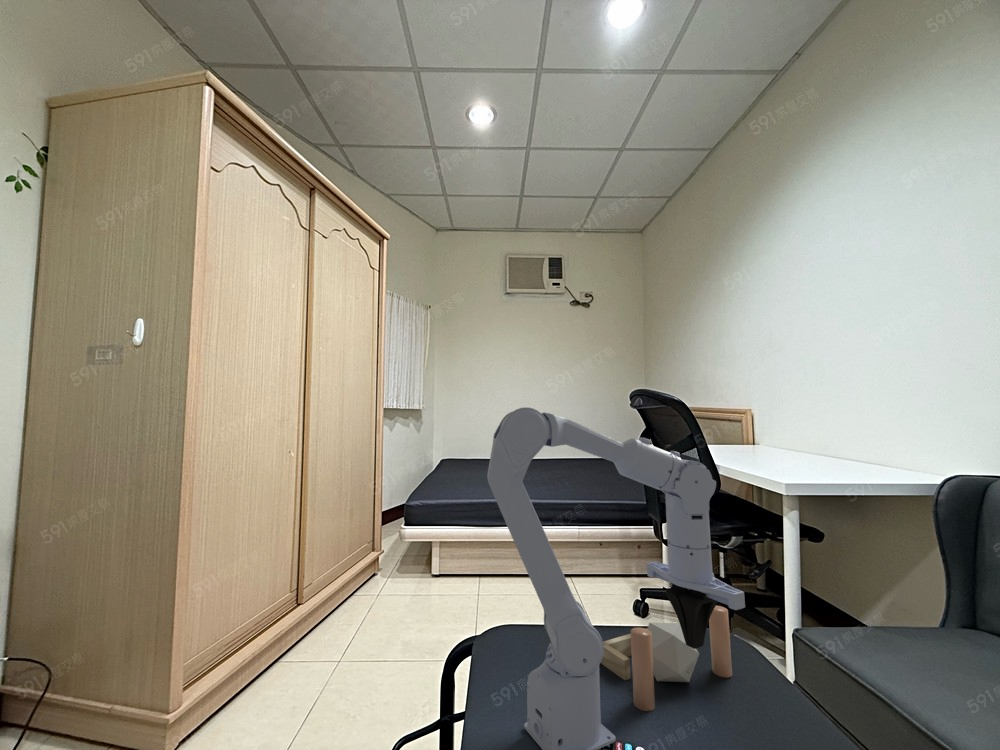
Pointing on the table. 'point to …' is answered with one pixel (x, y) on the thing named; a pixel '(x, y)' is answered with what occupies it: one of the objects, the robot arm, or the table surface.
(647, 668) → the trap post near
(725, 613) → the trap post far
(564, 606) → the robot arm
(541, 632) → the table surface
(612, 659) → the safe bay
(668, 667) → the die
